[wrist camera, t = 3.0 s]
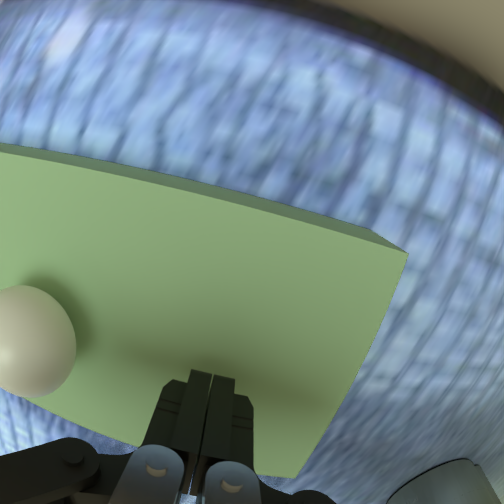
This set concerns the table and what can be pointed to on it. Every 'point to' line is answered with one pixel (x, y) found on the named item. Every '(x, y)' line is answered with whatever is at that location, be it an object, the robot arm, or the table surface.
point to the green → (193, 295)
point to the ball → (34, 342)
